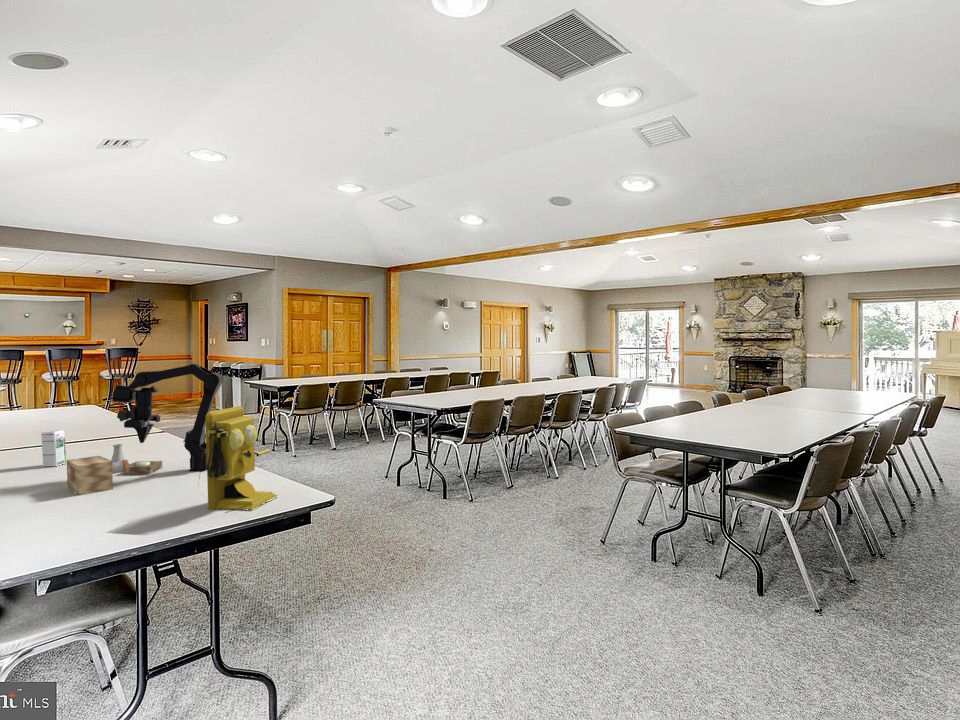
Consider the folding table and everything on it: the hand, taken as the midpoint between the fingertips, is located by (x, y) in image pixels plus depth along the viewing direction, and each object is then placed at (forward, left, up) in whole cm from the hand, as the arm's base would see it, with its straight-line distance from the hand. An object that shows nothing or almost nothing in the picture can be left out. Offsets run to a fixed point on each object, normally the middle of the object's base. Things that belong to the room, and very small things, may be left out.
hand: (141, 442), depth 227 cm
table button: (+1, -1, -11) cm, 11 cm away
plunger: (-3, +19, -8) cm, 20 cm away
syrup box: (+46, -8, -12) cm, 48 cm away
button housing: (+1, -1, -12) cm, 12 cm away
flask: (+14, -4, -12) cm, 19 cm away
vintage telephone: (-62, +38, -12) cm, 74 cm away
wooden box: (+2, +25, -12) cm, 27 cm away
